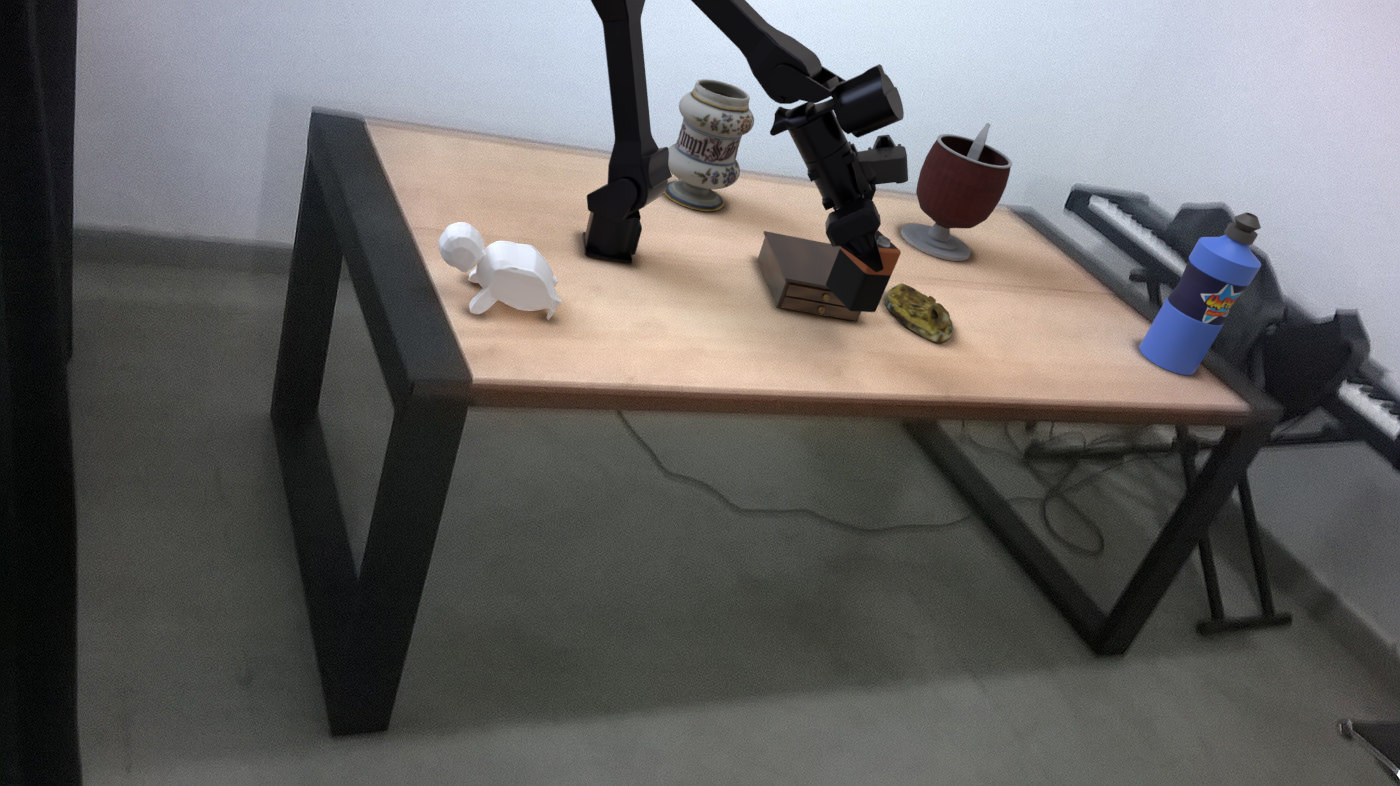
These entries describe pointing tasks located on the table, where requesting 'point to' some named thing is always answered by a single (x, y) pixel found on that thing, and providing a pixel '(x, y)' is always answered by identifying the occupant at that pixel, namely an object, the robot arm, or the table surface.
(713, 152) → the apothecary jar
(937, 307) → the olive oval relief
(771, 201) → the table surface
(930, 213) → the mate gourd
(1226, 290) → the water bottle
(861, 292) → the battery
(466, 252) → the white turtle figurine
